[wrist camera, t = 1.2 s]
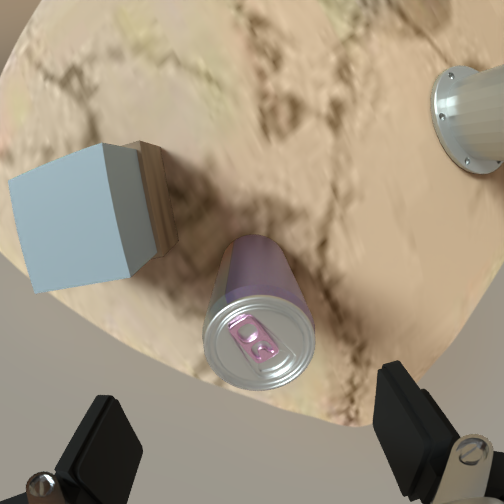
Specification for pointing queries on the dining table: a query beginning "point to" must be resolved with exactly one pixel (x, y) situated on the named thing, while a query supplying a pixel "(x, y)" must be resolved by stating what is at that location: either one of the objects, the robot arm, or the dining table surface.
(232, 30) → the dining table surface
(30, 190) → the top block
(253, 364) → the beverage can
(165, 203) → the base block
